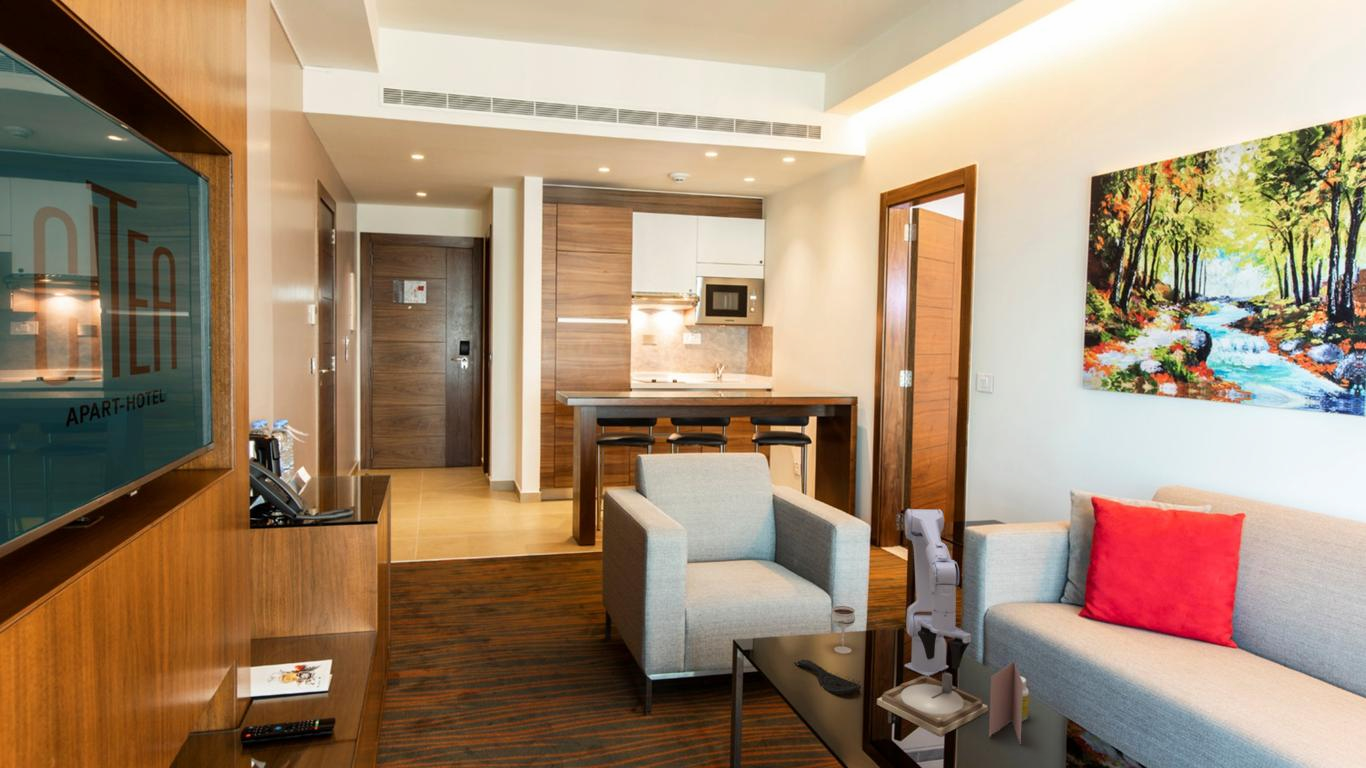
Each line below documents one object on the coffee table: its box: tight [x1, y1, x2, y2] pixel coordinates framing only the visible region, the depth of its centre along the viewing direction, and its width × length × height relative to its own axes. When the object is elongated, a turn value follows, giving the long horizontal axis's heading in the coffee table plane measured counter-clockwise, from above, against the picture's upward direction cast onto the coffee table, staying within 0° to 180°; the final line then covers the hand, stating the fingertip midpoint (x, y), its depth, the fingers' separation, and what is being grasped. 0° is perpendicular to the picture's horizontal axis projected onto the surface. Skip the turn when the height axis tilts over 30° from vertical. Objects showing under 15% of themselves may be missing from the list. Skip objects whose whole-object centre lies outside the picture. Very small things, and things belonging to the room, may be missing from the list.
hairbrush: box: [797, 659, 862, 695], centre depth 224 cm, size 8×4×25 cm
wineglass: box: [831, 605, 856, 654], centre depth 242 cm, size 7×7×12 cm
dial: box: [901, 672, 964, 717], centre depth 208 cm, size 15×15×5 cm
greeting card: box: [988, 661, 1023, 745], centre depth 195 cm, size 11×7×15 cm, turn 133°
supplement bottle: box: [1020, 675, 1030, 720], centre depth 204 cm, size 5×5×10 cm
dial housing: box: [876, 675, 989, 737], centre depth 208 cm, size 19×19×3 cm
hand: (942, 663), depth 209 cm, fingers open, 7 cm apart
